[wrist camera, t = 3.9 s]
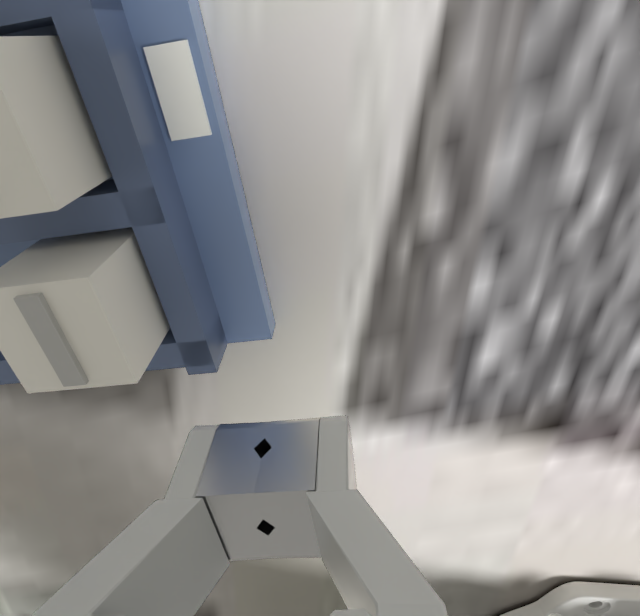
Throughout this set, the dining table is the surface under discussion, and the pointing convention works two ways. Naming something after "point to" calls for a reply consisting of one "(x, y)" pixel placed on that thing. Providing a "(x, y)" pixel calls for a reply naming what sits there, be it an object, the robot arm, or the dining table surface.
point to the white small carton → (43, 130)
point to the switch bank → (156, 169)
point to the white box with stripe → (80, 312)
